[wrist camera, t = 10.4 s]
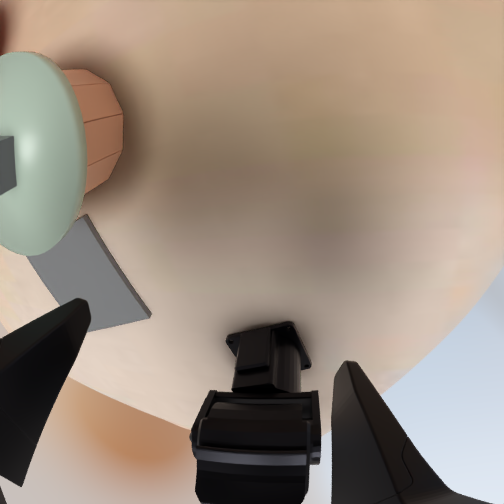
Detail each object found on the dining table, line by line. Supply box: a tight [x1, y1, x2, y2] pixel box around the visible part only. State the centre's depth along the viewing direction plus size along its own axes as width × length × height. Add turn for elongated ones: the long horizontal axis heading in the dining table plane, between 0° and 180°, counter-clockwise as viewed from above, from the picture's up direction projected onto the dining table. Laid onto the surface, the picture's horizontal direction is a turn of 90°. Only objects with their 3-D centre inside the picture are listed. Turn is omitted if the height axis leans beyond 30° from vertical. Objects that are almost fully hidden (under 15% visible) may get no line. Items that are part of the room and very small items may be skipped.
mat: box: [26, 214, 151, 332], centre depth 25 cm, size 11×11×1 cm
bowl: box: [62, 69, 123, 195], centre depth 15 cm, size 10×10×6 cm
